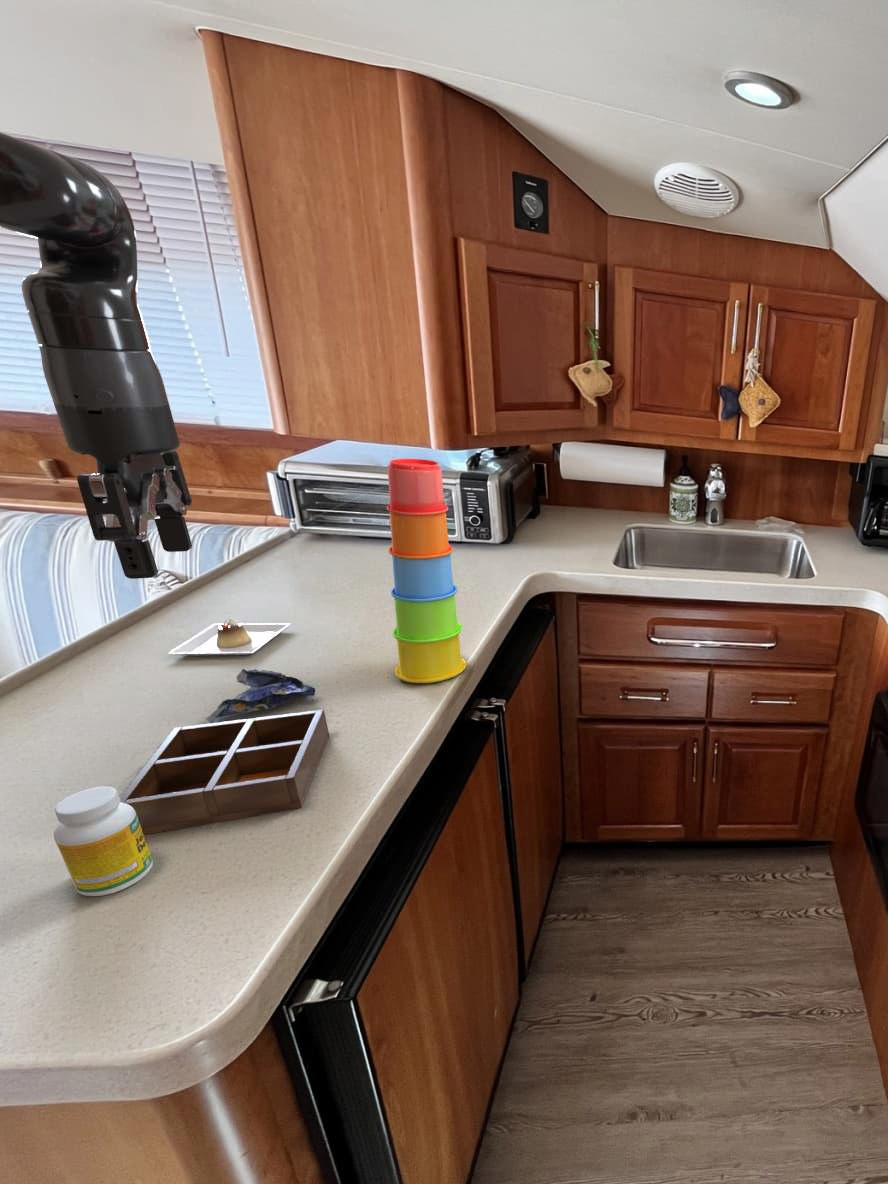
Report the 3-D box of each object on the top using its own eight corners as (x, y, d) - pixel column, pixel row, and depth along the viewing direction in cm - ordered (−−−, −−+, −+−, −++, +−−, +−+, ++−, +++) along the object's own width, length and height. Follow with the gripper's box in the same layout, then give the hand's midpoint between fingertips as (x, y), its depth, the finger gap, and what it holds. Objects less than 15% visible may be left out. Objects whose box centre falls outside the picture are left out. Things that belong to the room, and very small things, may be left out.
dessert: (168, 660, 102) (159, 633, 100) (215, 629, 112) (208, 604, 111) (255, 658, 104) (248, 632, 102) (293, 628, 115) (287, 604, 113)
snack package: (216, 696, 94) (199, 735, 84) (215, 656, 92) (198, 691, 83) (318, 692, 100) (312, 727, 91) (318, 655, 99) (313, 687, 90)
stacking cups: (408, 657, 109) (377, 454, 96) (473, 656, 111) (450, 457, 99) (385, 686, 100) (347, 466, 87) (456, 684, 102) (429, 469, 89)
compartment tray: (124, 838, 68) (112, 806, 66) (183, 756, 81) (174, 727, 79) (301, 807, 74) (294, 777, 72) (329, 736, 87) (323, 709, 85)
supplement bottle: (71, 879, 62) (37, 800, 59) (146, 849, 67) (118, 774, 63) (84, 908, 60) (49, 827, 56) (161, 874, 64) (133, 797, 60)
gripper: (97, 390, 64) (144, 544, 69) (6, 405, 52) (73, 590, 58) (194, 394, 67) (231, 542, 73) (129, 409, 55) (181, 584, 61)
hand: (161, 563), depth 65 cm, fingers open, 8 cm apart
